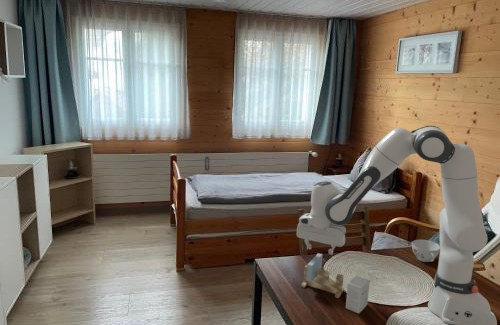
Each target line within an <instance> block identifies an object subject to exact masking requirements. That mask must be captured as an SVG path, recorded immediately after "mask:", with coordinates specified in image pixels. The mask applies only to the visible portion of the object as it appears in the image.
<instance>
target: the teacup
mask: <svg viewBox="0 0 500 325" xmlns="http://www.w3.org/2000/svg"><path fill="white" fill-rule="evenodd" d="M411 248H412V249H411V250H412V252H413V254H414V256H415V257H416V259H417V260H419V261H420V262H422V263H429V262H434V261H435V259H436V258H437V257H438V256H439V255H440V244H438V243H436V242H435V241H431V240H428V239H415V240H413V241H411Z"/></svg>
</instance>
